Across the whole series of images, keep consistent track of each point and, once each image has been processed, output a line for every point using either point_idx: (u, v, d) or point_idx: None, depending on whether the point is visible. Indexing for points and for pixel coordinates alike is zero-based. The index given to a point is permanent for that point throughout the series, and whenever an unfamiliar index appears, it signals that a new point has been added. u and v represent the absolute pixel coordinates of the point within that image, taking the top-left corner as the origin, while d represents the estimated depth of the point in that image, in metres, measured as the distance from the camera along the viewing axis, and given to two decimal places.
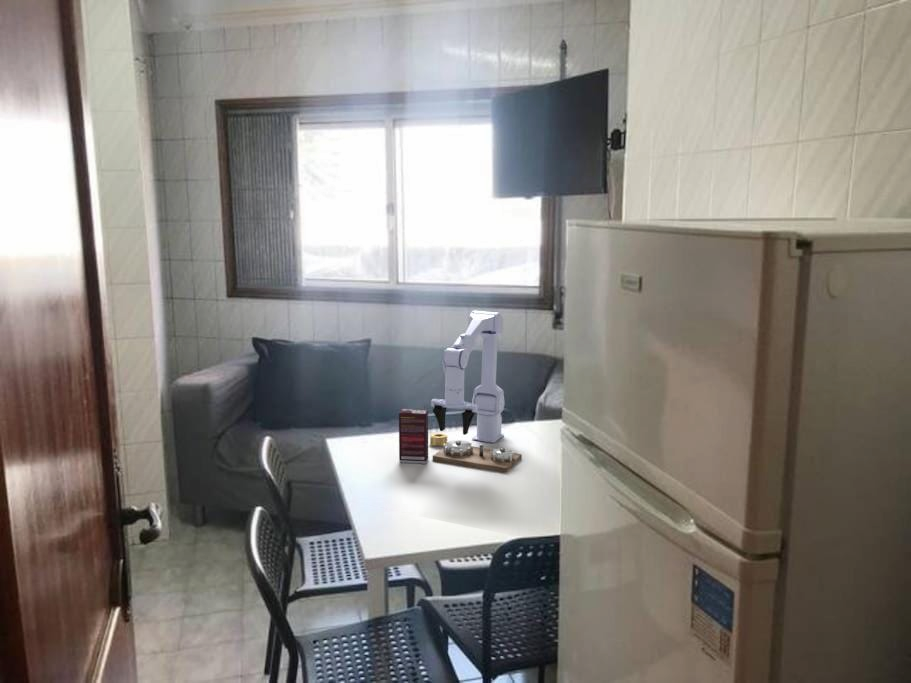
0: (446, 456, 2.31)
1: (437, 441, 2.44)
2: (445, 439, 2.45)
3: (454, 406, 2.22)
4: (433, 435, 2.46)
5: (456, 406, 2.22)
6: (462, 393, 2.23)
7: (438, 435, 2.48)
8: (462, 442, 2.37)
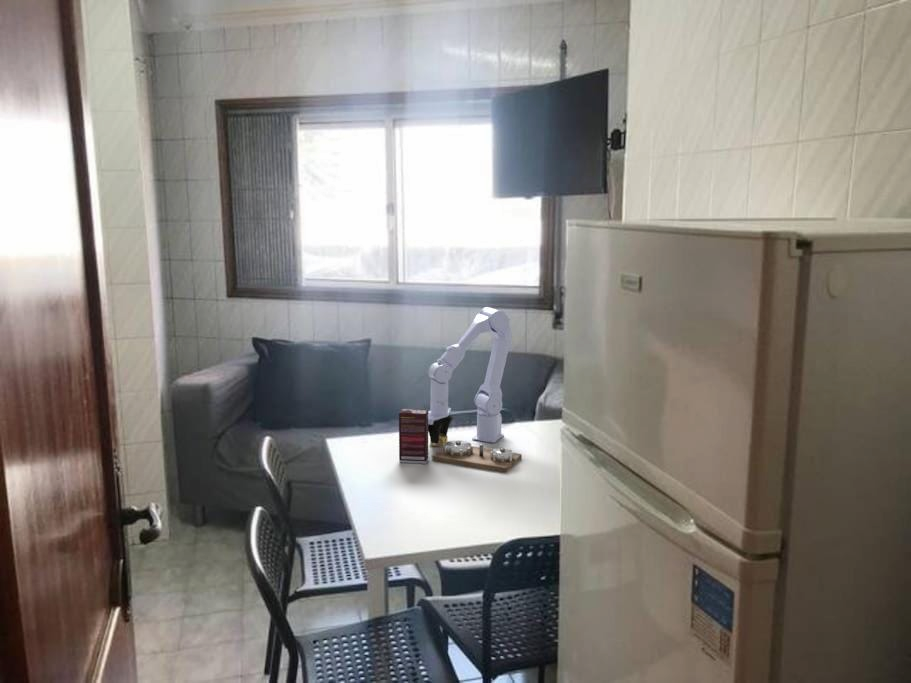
0: (446, 456, 2.31)
1: None
2: (445, 439, 2.45)
3: (429, 414, 2.45)
4: None
5: None
6: (434, 405, 2.42)
7: None
8: (462, 442, 2.37)
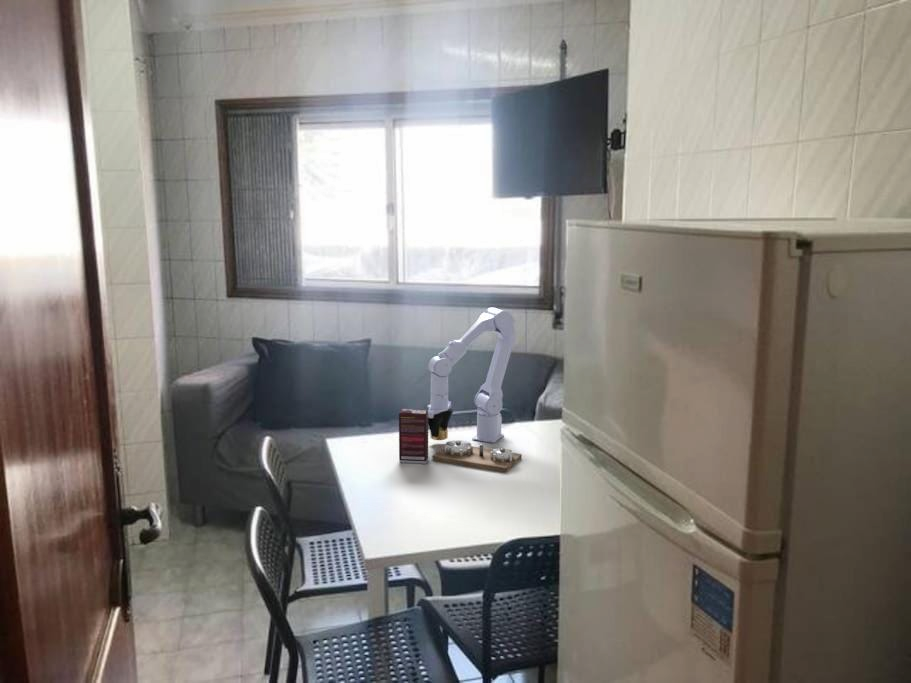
0: (446, 456, 2.31)
1: None
2: (445, 433, 2.45)
3: (429, 407, 2.45)
4: None
5: (429, 408, 2.44)
6: (434, 398, 2.42)
7: None
8: (462, 442, 2.37)
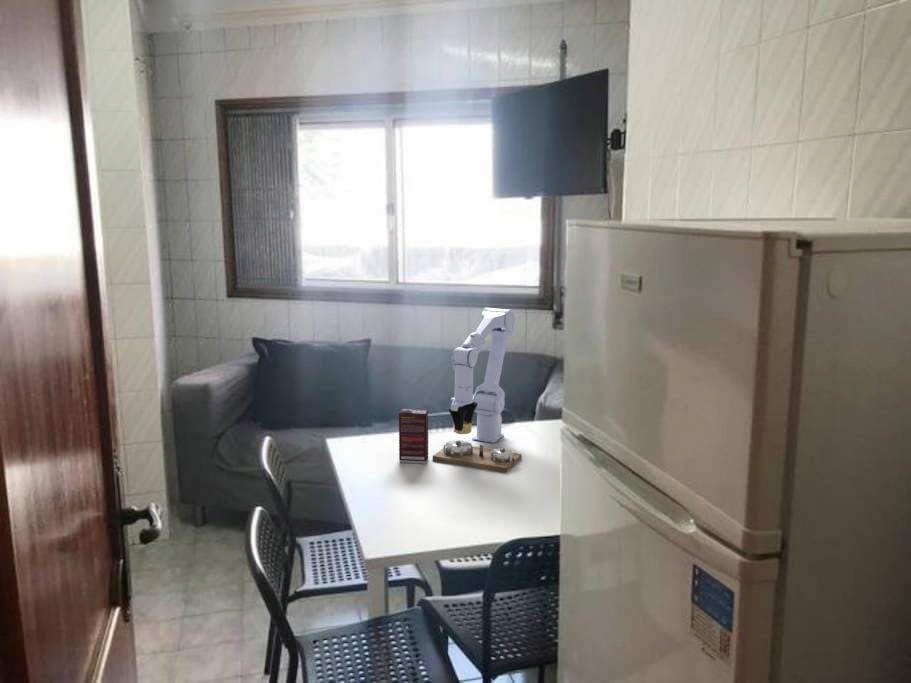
0: (446, 456, 2.31)
1: None
2: (469, 426, 2.36)
3: (453, 400, 2.36)
4: None
5: None
6: (458, 391, 2.33)
7: None
8: (462, 442, 2.37)
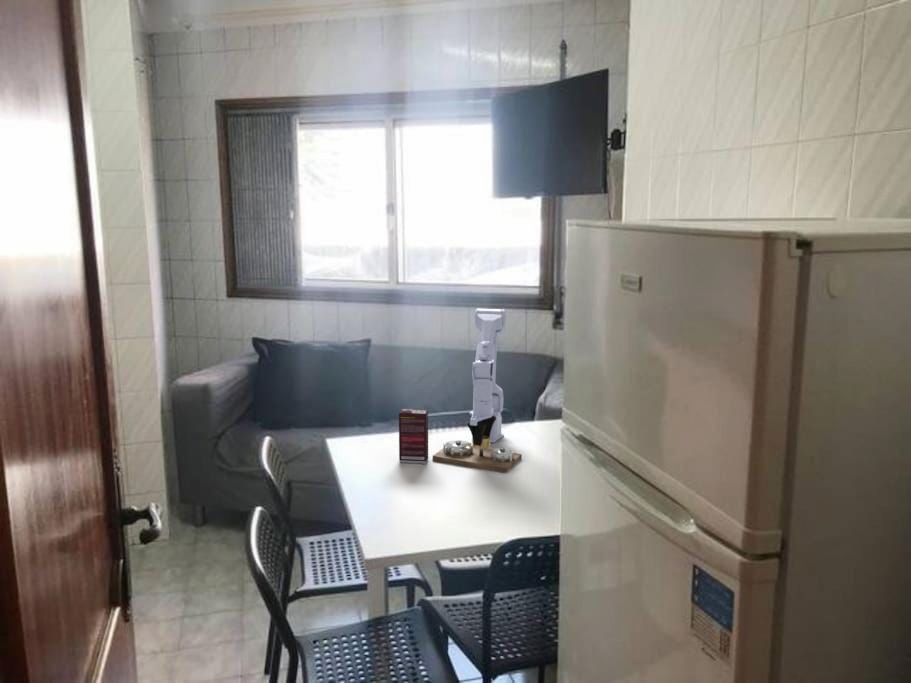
0: (446, 456, 2.31)
1: None
2: (488, 441, 2.30)
3: (472, 414, 2.30)
4: None
5: (472, 414, 2.29)
6: (477, 405, 2.27)
7: None
8: (462, 442, 2.37)
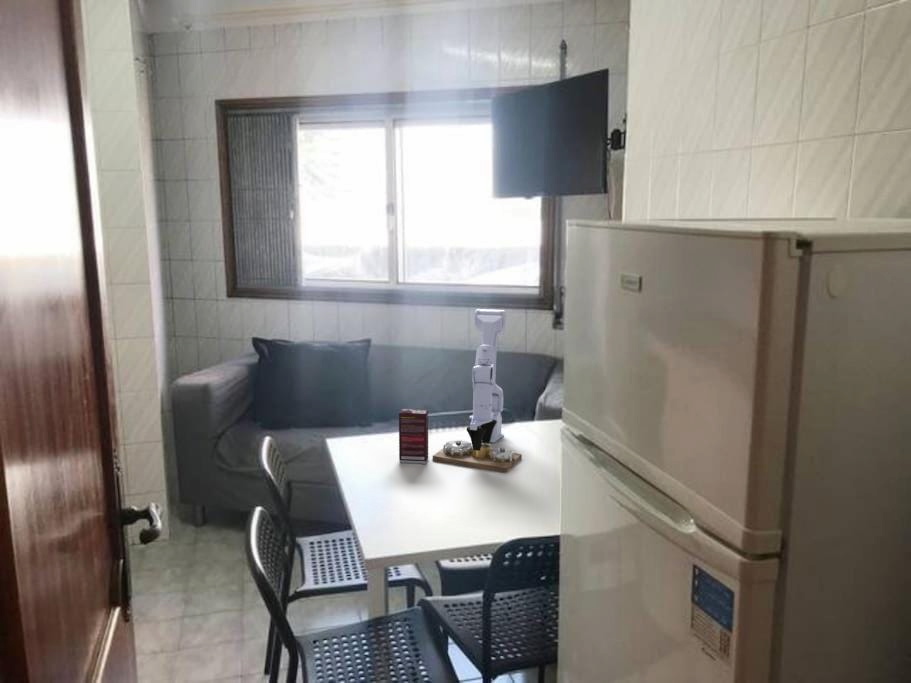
0: (446, 456, 2.31)
1: (479, 452, 2.30)
2: (488, 450, 2.31)
3: (472, 418, 2.30)
4: None
5: (472, 419, 2.30)
6: (477, 409, 2.27)
7: None
8: (462, 442, 2.37)
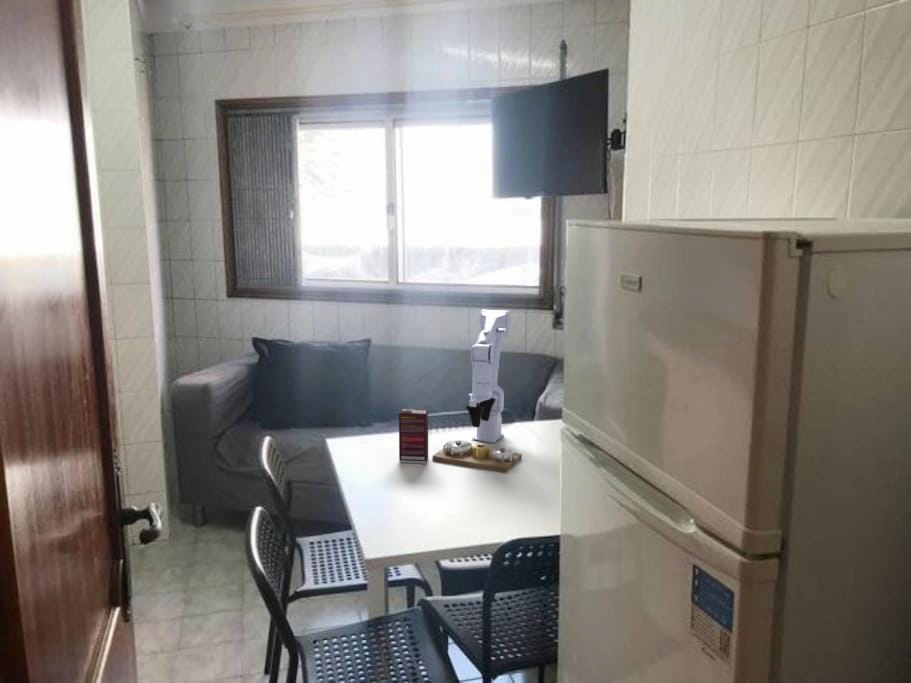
0: (446, 456, 2.31)
1: (479, 452, 2.30)
2: (488, 450, 2.31)
3: (471, 396, 2.37)
4: (475, 446, 2.32)
5: (471, 396, 2.36)
6: (476, 387, 2.34)
7: None
8: (462, 442, 2.37)
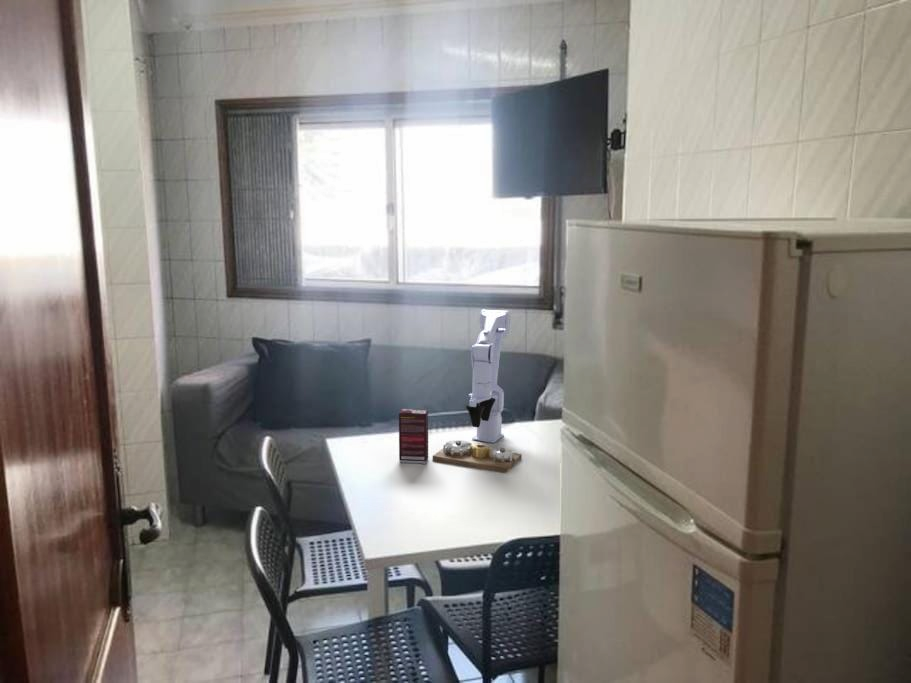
0: (446, 456, 2.31)
1: (479, 452, 2.30)
2: (488, 450, 2.31)
3: (471, 396, 2.37)
4: (475, 446, 2.32)
5: (471, 396, 2.36)
6: (476, 387, 2.34)
7: None
8: (462, 442, 2.37)
